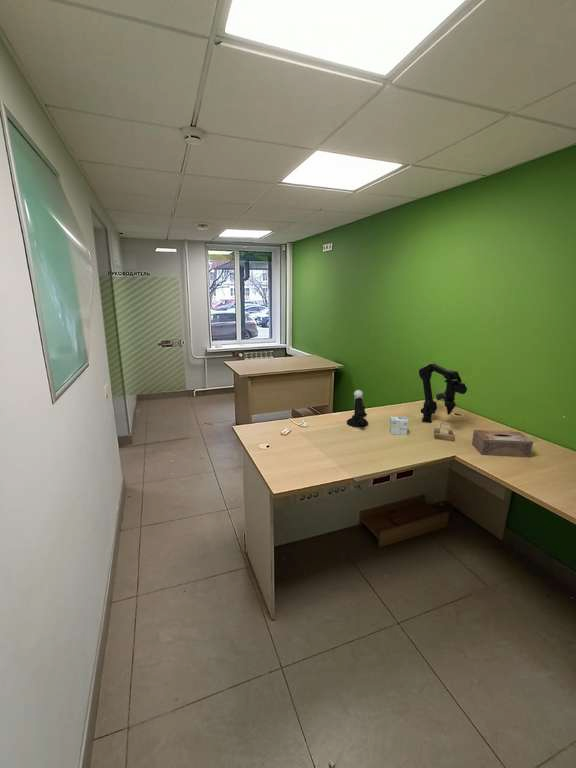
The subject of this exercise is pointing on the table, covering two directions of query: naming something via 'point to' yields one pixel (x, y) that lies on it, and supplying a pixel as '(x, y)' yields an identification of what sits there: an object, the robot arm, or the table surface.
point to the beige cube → (444, 428)
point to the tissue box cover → (502, 443)
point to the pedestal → (443, 435)
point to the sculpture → (358, 412)
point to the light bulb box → (398, 425)
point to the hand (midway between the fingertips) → (448, 412)
